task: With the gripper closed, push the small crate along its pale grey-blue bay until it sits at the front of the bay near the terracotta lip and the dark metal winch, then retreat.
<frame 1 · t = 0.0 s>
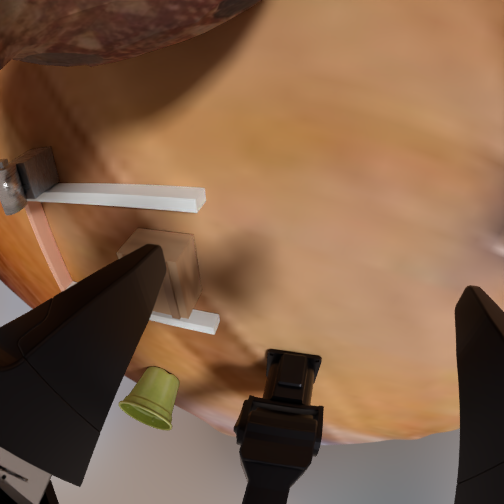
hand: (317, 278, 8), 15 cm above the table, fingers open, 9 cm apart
bay: (115, 250, 31), on the table
winch: (44, 164, 26), on the table
plant pot: (163, 374, 48), on the table
crate: (161, 274, 28), point 2 cm above the table, slide at 0.0 cm
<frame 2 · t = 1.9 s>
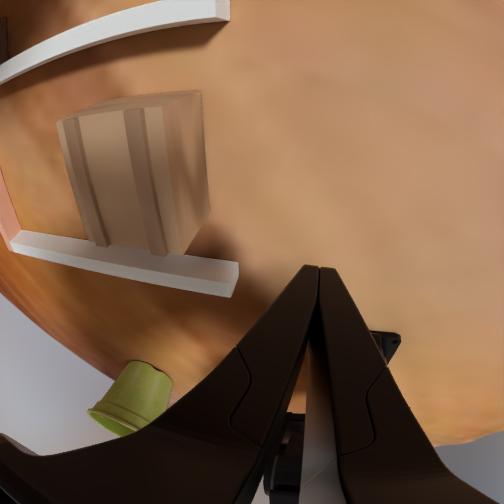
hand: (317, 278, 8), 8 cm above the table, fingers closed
bay: (70, 157, 17), on the table
plant pot: (151, 372, 34), on the table
crate: (135, 169, 14), point 2 cm above the table, slide at 0.0 cm
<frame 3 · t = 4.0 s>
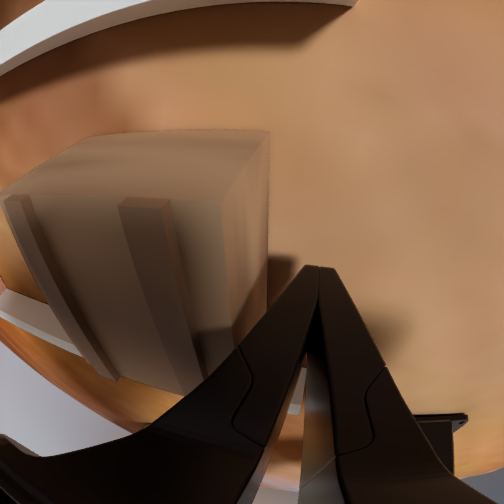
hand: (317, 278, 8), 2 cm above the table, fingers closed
bay: (53, 218, 11), on the table
crate: (149, 273, 8), point 2 cm above the table, slide at 0.5 cm, touching gripper
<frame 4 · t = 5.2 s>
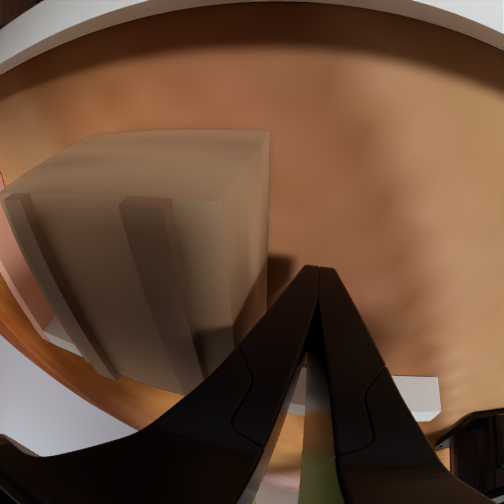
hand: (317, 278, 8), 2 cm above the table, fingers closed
bay: (191, 231, 10), on the table
crate: (150, 273, 8), point 2 cm above the table, slide at 7.4 cm, touching gripper
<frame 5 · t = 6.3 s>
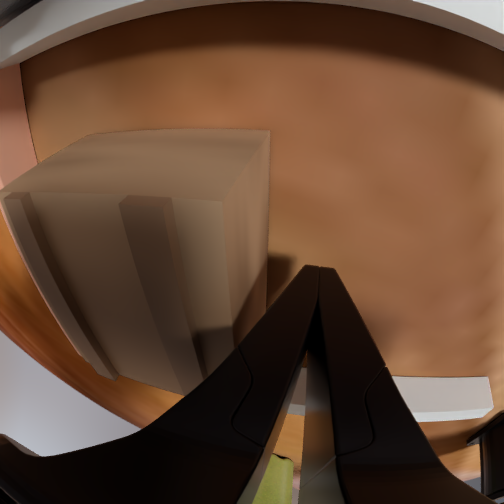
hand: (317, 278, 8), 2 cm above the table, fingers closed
bay: (301, 244, 9), on the table
plant pot: (264, 456, 26), on the table
crate: (149, 272, 8), point 2 cm above the table, slide at 11.0 cm, touching gripper
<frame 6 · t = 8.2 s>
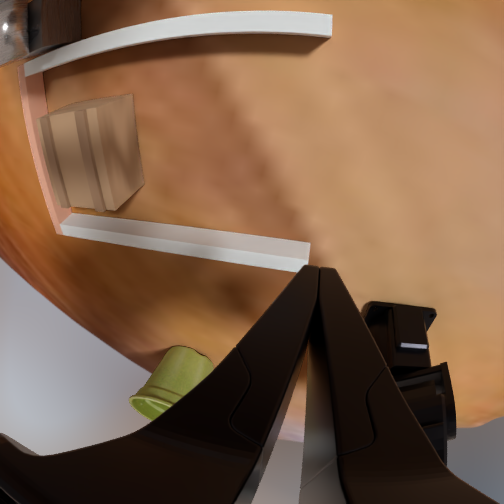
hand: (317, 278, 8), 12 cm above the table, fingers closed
bay: (151, 139, 19), on the table
winch: (62, 24, 14), on the table
plant pot: (191, 357, 36), on the table
crate: (88, 152, 18), point 2 cm above the table, slide at 11.1 cm
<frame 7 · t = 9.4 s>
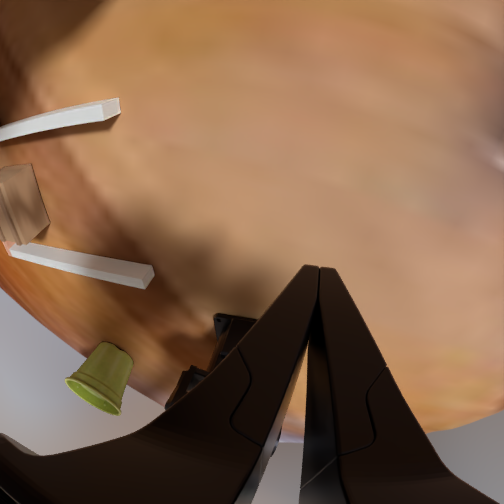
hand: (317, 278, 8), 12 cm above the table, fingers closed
bay: (46, 194, 25), on the table
plant pot: (117, 352, 42), on the table
crate: (12, 204, 24), point 2 cm above the table, slide at 11.1 cm
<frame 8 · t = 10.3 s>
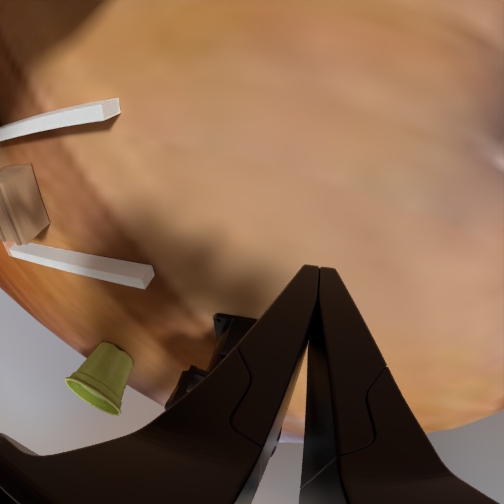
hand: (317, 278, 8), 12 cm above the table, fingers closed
bay: (46, 194, 25), on the table
plant pot: (117, 352, 42), on the table
crate: (12, 204, 24), point 2 cm above the table, slide at 11.1 cm
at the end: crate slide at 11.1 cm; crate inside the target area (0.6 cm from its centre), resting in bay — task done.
